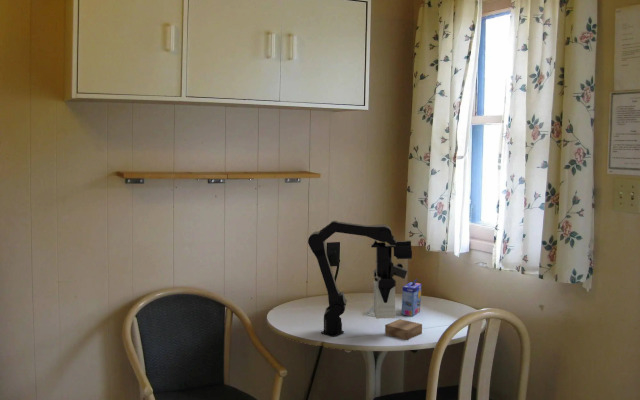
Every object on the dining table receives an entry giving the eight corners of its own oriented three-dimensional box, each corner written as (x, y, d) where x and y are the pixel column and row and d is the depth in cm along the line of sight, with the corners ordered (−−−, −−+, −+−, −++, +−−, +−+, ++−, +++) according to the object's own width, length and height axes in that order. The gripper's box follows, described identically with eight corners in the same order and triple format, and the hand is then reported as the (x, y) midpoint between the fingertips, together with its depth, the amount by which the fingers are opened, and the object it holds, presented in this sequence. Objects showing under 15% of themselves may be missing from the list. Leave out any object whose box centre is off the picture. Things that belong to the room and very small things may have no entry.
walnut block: (385, 335, 235) (385, 324, 234) (399, 329, 242) (399, 319, 242) (407, 340, 228) (407, 330, 228) (422, 334, 236) (422, 324, 235)
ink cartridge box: (413, 317, 257) (414, 282, 256) (401, 315, 260) (401, 281, 258) (421, 311, 266) (422, 277, 265) (409, 309, 269) (409, 276, 267)
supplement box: (392, 312, 237) (392, 280, 236) (395, 318, 230) (395, 284, 228) (373, 313, 237) (373, 280, 236) (375, 318, 230) (375, 285, 228)
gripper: (409, 263, 222) (409, 306, 224) (401, 253, 241) (402, 293, 242) (378, 264, 222) (378, 306, 223) (373, 254, 240) (373, 294, 242)
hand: (384, 300), depth 233 cm, fingers closed on supplement box, 7 cm apart
